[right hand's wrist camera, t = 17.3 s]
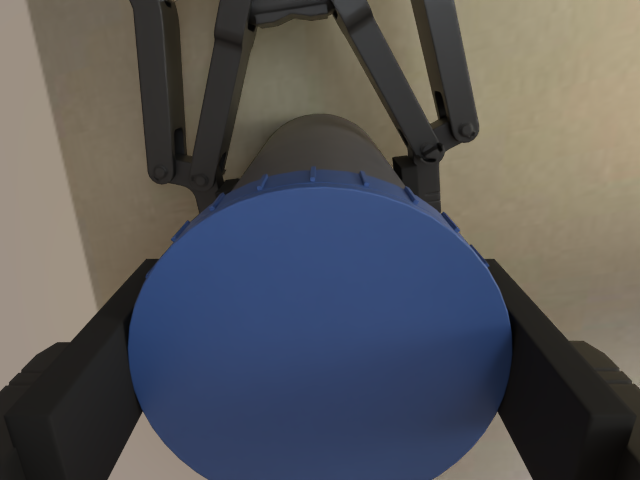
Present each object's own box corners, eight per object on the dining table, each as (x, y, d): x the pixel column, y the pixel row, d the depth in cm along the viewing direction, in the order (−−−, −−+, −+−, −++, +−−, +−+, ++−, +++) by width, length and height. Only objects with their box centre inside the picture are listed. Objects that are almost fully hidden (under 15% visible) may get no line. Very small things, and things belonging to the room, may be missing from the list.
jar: (255, 110, 27) (139, 187, 10) (390, 117, 28) (517, 205, 10) (256, 236, 30) (166, 473, 13) (377, 241, 30) (457, 484, 13)
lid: (128, 424, 13) (102, 472, 12) (180, 117, 10) (155, 127, 9) (418, 487, 14) (431, 540, 13) (549, 223, 11) (587, 249, 9)
